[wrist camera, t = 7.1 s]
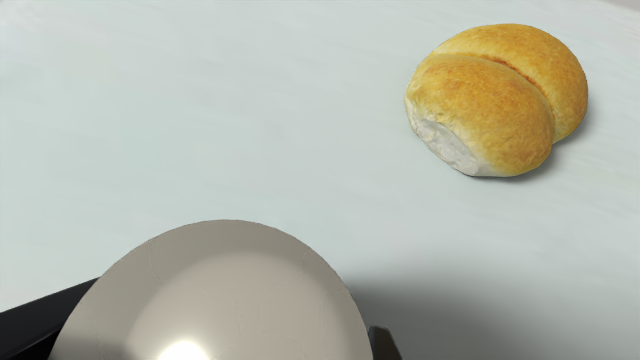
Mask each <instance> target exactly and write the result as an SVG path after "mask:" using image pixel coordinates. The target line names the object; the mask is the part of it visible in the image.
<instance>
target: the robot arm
mask: <svg viewBox="0 0 640 360" xmlns="http://www.w3.org/2000/svg"><path fill="white" fill-rule="evenodd" d="M99 278H100V277H98V278H95V279H92V280H89V281H87V282H84V283H81V284H78V285H76V286H73V287H70V288H67V289H65V290H62V291H59V292H56V293H53V294H51V295H48V296H45V297H42V298H40V299H37V300H34V301H31V302H29V303H26V304H23V305H20V306H17V307H15V308H12V309H9V310H6V311H4V312H1V313H0V360H48V358H49V355H50V353H51V351H52V349H53V346H54V344H55V342H56V339H57V337H58V336H59V334H60V332H61V330H62V328H63V327H64V325H65V323H66V321H67V319H68V318H69V316H70V315H71V313H72V312H73V310H74V309H75V307H76V306H77V305H78V303H79V302H80V300H81V299H82V297H83V296H84V295H85V294H86V293H87V292H88V290H89V289H90V288H91V287H92V286H93V285H94V283H95V282H96V281H97V280H98V279H99ZM368 338H369V342H370V346H371V350H372V354H373V360H403V359H402V356H401V354H400V352H399V350H398V348H397V346H396V344H395V341H394V339H393V337H392V335H391V333H390V331H389V330H388V329H387V328H384V327H381V326H378V325H372V326H371V327H370V329H369V332H368Z"/></svg>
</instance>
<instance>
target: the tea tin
mask: <svg viewBox="0 0 640 360" xmlns="http://www.w3.org/2000/svg"><path fill="white" fill-rule="evenodd" d="M48 360H373V354H372V350H371V346H370V342H369V338H368V334H367V330H366V327H365V325H364V322H363V320H362V317H361V314H360V312H359V309H358V307H357V305H356V303H355V302H354V300H353V298H352V296H351V294H350V292H349V290H348V289H347V287H346V286H345V284H344V283H343V282H342V280H341V279H340V277H339V276H338V275H337V273H336V272H335V271H334V270H333V269H332V268H331V267H330V265H329V264H328V263H327V262H326V261H325V260H324V259H323V258H322V257H321V256H320V255H318V254H317V253H316V252H315V251H314V250H312V249H311V248H310V247H309V246H307V245H306V244H304V243H303V242H301V241H299V240H298V239H296V238H295V237H293V236H291V235H289V234H287V233H285V232H283V231H280V230H278V229H276V228H273V227H269V226H266V225H263V224H260V223H255V222H249V221H243V220H211V221H202V222H198V223H193V224H188V225H184V226H181V227H179V228H176V229H173V230H170V231H167V232H165V233H163V234H160V235H158V236H156V237H154V238H152V239H150V240H148V241H146V242H145V243H143V244H142V245H140V246H138V247H137V248H135V249H133V250H132V251H130V252H129V253H128V254H126V255H125V256H124V257H123V258H121V259H120V260H119V261H117V262H116V263H115V264H114V265H113V266H111V267H110V268H109V269H108V270H107V271H106V272H105V273H104V274H103V275H102V276H101V277H100V278H99V279H98V280H97V281H96V282H95V283H94V285H93V286H92V287H91V288H90V289H89V290H88V292H87V293H86V294H85V295H84V296H83V297H82V299H81V300H80V302H79V303H78V305H77V306H76V307H75V309H74V310H73V312H72V313H71V315H70V316H69V318H68V319H67V321H66V323H65V325H64V327H63V328H62V330H61V332H60V334H59V336H58V337H57V339H56V342H55V344H54V346H53V349H52V351H51V353H50V355H49V358H48Z"/></svg>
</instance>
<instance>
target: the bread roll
mask: <svg viewBox="0 0 640 360" xmlns="http://www.w3.org/2000/svg"><path fill="white" fill-rule="evenodd" d="M587 99H588V86H587V80H586V76H585V73H584V71H583V69H582V67H581V65H580V63H579V62H578V60H577V58H576V57H575V56H574V54H573V53H572V52H571V51H570V50H569V49H568V47H567V46H565V45H564V44H563V43H562V42H561V41H560V40H558V39H557V38H555V37H553V36H552V35H550V34H549V33H547V32H544V31H542V30H540V29H537V28H535V27H532V26H527V25H521V24H496V25H486V26H479V27H475V28H471V29H468V30H466V31H463V32H461V33H459V34H457V35H455V36H454V37H452V38H450V39H448V40H447V41H445V42H444V43H442V44H441V45H440V46H439V47H437V48H436V49H435V50H434V51H432V53H431V54H430V55H429V56H428V57H426V58H425V59H424V60H423V61H422V62H421V63H420V64H419V65H418V67H417V69H416V71H415V72H414V73H413V75H412V77H411V79H410V81H409V83H408V86H407V89H406V93H405V97H404V103H405V108H406V113H407V116H408V119H409V122H410V125H411V128H412V130H413V131H414V132H415V133H416V134H417V135H418V136H419V137H420V138H421V139H422V140H423V141H424V142H425V143H426V145H427V146H428V147H429V149H430V150H431V151H432V152H433V153H435V154H436V155H437V156H439V157H440V158H441V159H442V160H444V161H445V162H446V163H448V164H449V165H450V166H452V167H453V168H455V169H457V170H458V171H460V172H462V173H464V174H466V175H470V176H497V177H509V176H517V175H520V174H523V173H526V172H528V171H530V170H533V169H535V168H537V167H539V166H540V165H541V164H542V163H543V162H544V161H545V160H546V158H547V157H548V155H549V154H550V152H551V149H552V145H553V144H554V143H556V142H558V141H560V140H562V139H563V138H565V137H567V136H568V135H570V134H571V133H572V132H573V131H574V130H575V129H576V128H577V127H578V125H579V124H580V123H581V121H582V120H583V118H584V115H585V112H586V109H587Z"/></svg>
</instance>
